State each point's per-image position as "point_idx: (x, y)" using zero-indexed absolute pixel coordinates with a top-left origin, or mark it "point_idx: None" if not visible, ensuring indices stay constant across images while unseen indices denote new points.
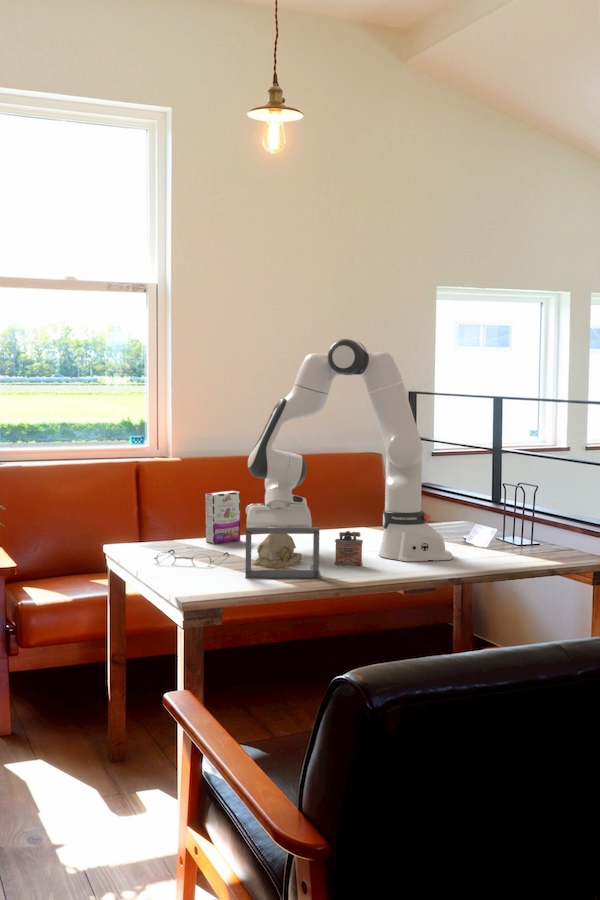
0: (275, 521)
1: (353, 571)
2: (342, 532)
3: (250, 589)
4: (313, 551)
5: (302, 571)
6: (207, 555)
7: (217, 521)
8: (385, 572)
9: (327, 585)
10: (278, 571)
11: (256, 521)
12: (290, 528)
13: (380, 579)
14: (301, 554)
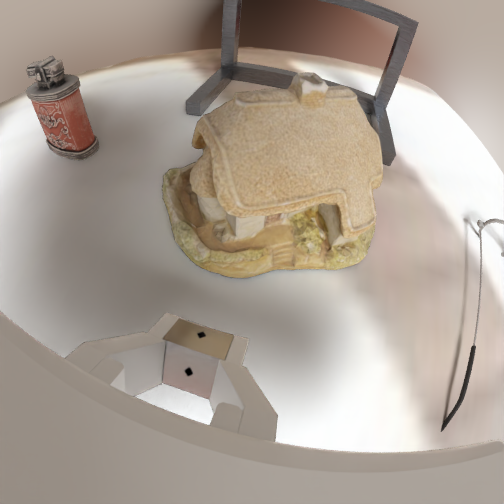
0: (192, 464)
1: (116, 99)
2: (52, 63)
3: (363, 75)
4: (238, 25)
5: (260, 66)
6: (500, 221)
7: None
8: None
9: None
10: None
11: (474, 468)
12: None
13: (125, 66)
14: (164, 175)
